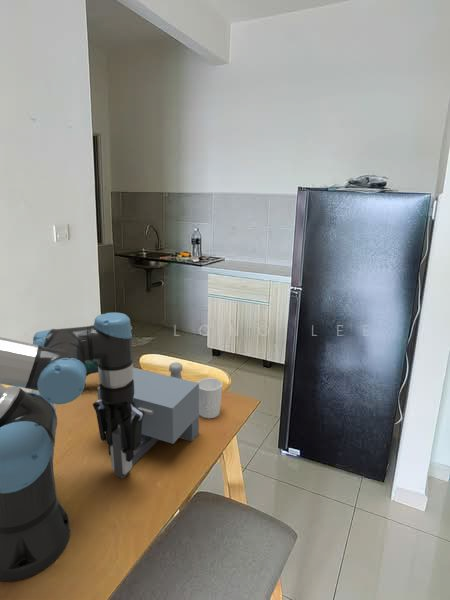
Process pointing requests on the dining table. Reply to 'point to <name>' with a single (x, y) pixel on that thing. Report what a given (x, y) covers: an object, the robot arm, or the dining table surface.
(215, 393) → the white cup
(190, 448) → the dining table surface
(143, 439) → the steel token
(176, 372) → the salt shaker
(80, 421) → the dining table surface
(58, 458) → the dining table surface
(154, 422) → the cabinet
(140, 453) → the l-shaped tool
